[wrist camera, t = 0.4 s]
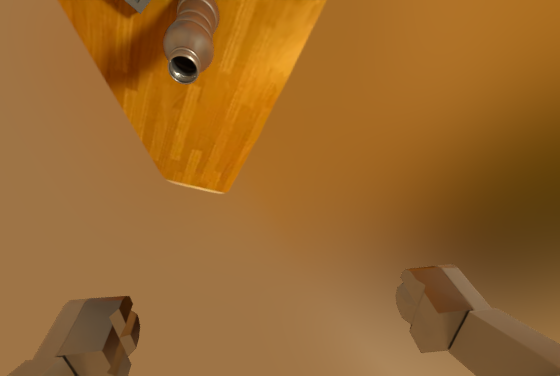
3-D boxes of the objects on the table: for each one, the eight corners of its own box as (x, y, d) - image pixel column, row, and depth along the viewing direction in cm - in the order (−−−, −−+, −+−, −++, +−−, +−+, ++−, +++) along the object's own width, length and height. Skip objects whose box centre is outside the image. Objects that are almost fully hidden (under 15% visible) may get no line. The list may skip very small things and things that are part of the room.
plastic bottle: (182, 29, 51) (160, 94, 38) (176, -18, 45) (148, 39, 32) (221, 31, 51) (213, 96, 38) (219, -14, 46) (208, 43, 33)
